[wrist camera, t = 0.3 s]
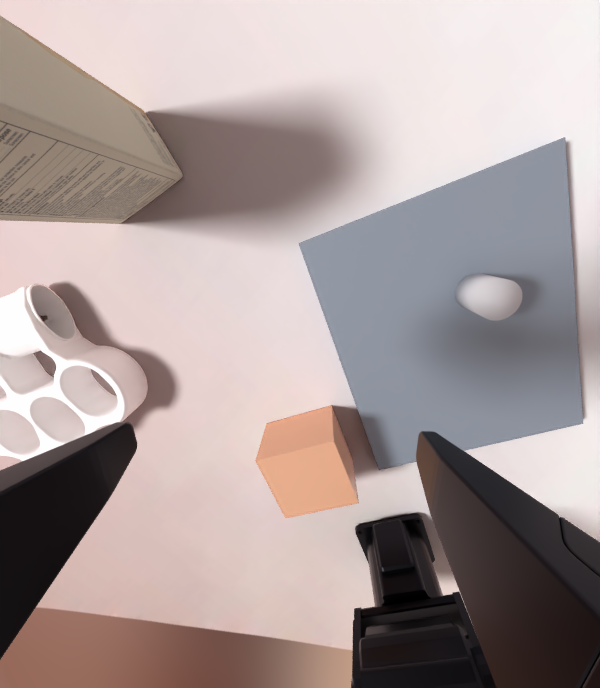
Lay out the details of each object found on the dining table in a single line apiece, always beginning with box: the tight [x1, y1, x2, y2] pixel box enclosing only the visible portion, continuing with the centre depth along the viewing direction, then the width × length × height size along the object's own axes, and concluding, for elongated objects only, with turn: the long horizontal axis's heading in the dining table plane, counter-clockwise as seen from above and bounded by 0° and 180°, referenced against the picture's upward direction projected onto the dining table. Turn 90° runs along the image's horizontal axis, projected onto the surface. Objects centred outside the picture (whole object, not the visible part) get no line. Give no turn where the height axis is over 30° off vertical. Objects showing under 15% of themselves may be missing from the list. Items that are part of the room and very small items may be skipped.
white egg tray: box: [0, 284, 148, 461], centre depth 24 cm, size 3×18×15 cm
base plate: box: [299, 137, 583, 470], centre depth 19 cm, size 20×16×4 cm
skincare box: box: [0, 16, 183, 224], centre depth 13 cm, size 6×4×12 cm
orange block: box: [256, 406, 359, 518], centre depth 23 cm, size 6×6×4 cm
